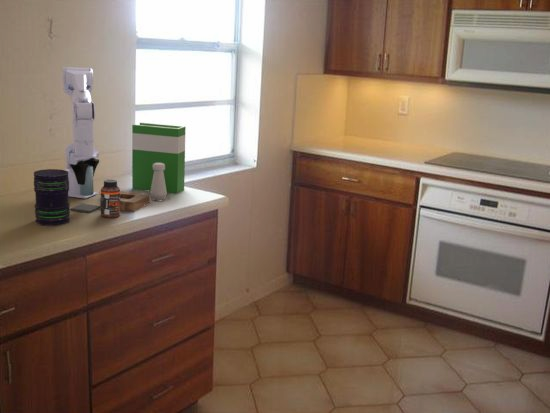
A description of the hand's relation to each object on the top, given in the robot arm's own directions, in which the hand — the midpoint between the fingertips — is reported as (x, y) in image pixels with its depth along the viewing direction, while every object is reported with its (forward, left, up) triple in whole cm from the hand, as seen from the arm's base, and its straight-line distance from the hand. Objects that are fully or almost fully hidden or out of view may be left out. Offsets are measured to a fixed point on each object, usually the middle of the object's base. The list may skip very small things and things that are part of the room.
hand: (85, 182), depth 197 cm
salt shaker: (+15, +22, -9) cm, 28 cm away
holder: (+9, +10, -9) cm, 16 cm away
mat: (0, 0, -9) cm, 9 cm away
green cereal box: (+9, +36, -9) cm, 38 cm away
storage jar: (-2, -16, -9) cm, 18 cm away
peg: (0, 0, -4) cm, 4 cm away
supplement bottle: (+11, -3, -9) cm, 14 cm away
